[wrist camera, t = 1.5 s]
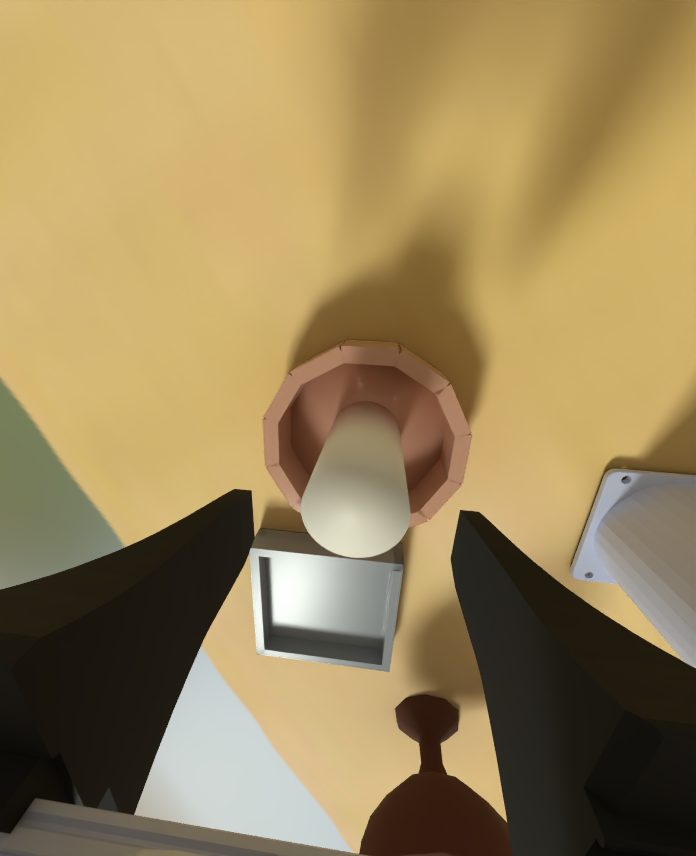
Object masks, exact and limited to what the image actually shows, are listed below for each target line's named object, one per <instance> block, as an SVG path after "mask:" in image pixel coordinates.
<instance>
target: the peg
mask: <svg viewBox="0 0 696 856" xmlns="http://www.w3.org/2000/svg"><path fill="white" fill-rule="evenodd" d="M301 516H302V520H303V523H304V525H305V527H306V529H307V531H308V532H309V534H310V535H311V537H312V538H313V539H314V540H315V541H316V542H317V543H319V544H320V545H321V546H323V547H324V548H326V549H327V550H329V551H331V552H333V553H336V554H338V555H342V556H346V557H352V558H366V557H372V556H376V555H379V554H382V553H384V552H386V551H388V550H390V549H391V548H392V547H394V546H395V545H396V544H397V543H398V542H399V541H400V540H401V539H402V538H403V536H404V535H405V533H406V531H407V529H408V526H409V522H410V504H409V497H408V489H407V482H406V474H405V467H404V460H403V452H402V445H401V437H400V430H399V425H398V422H397V420H396V418H395V417H394V415H393V414H392V413H391V412H390V411H389V410H388V409H387V408H385V407H384V406H382V405H380V404H378V403H374V402H369V401H362V402H356V403H353V404H350V405H349V406H347V407H345V408H344V409H343V410H342V411H341V412H340V413H339V414H338V415H337V417H336V418H335V421H334V423H333V425H332V428H331V430H330V432H329V435H328V437H327V439H326V442H325V444H324V447H323V449H322V451H321V454H320V456H319V458H318V461H317V463H316V466H315V468H314V470H313V473H312V475H311V477H310V480H309V482H308V485H307V487H306V489H305V492H304V494H303V497H302V501H301Z"/></svg>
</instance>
